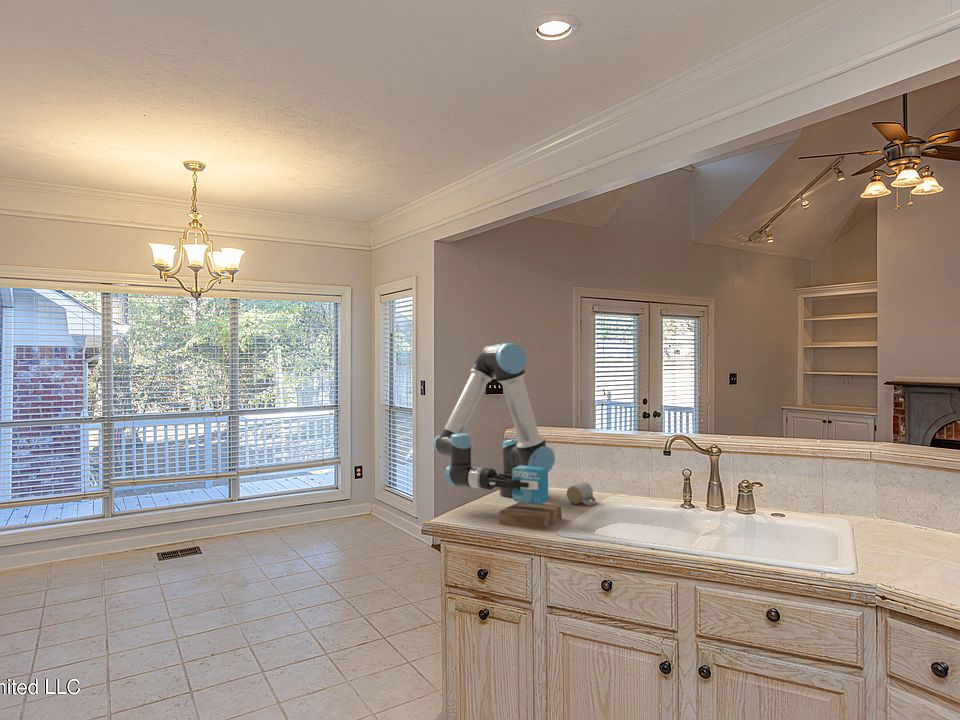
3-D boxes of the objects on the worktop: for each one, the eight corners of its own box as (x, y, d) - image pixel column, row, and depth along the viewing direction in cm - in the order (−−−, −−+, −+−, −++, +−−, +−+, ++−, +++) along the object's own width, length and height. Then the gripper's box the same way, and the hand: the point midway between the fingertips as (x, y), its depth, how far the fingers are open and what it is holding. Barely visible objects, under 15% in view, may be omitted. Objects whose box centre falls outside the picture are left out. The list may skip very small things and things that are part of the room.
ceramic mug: (565, 503, 236) (565, 483, 236) (577, 499, 242) (576, 480, 242) (588, 507, 229) (588, 487, 229) (600, 503, 235) (600, 483, 235)
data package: (512, 501, 213) (511, 467, 213) (518, 498, 217) (517, 465, 217) (543, 505, 207) (542, 469, 207) (548, 502, 211) (548, 467, 211)
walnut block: (521, 514, 223) (521, 501, 223) (561, 519, 215) (561, 505, 215) (499, 525, 209) (499, 511, 209) (541, 531, 201) (541, 516, 201)
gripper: (495, 484, 229) (552, 490, 217) (470, 493, 214) (529, 500, 202) (495, 464, 229) (551, 469, 217) (470, 472, 214) (529, 477, 202)
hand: (541, 484), depth 210 cm, fingers closed on data package, 4 cm apart
